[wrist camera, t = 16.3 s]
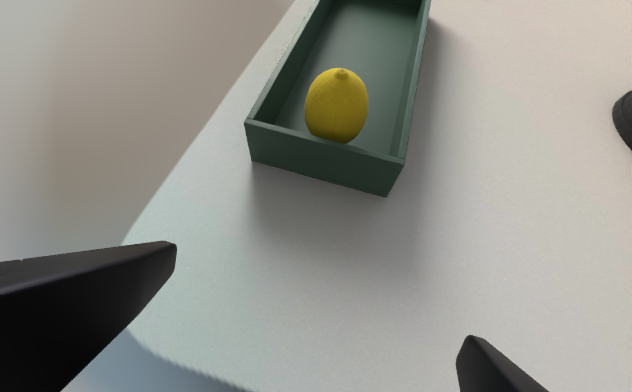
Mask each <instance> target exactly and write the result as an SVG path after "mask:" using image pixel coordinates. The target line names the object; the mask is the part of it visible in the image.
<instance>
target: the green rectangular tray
mask: <svg viewBox="0 0 632 392" xmlns="http://www.w3.org/2000/svg"><path fill="white" fill-rule="evenodd" d="M430 3H431V0H315V1H314V3H313V4H312V6H311V8H310V10H309V11H308V13H307V15H306V16H305V18H304V20H303V22H302V23H301V25H300V27H299V28H298V30H297V32H296V34H295V35H294V37H293V39H292V41H291V42H290V44H289V46H288V47H287V49H286V51H285V53H284V54H283V56H282V58H281V59H280V61H279V63H278V65H277V66H276V68H275V70H274V72H273V73H272V75H271V77H270V78H269V80H268V82H267V84H266V85H265V87H264V89H263V90H262V92H261V94H260V96H259V97H258V99H257V101H256V103H255V104H254V106H253V108H252V109H251V111H250V113H249V115H248V116H247V118H246V120H245V121H244V126H245V131H246V136H247V141H248V146H249V151H250V155H251V160H252V161H256V162H260V163H263V164H267V165H271V166H274V167H278V168H281V169H285V170H289V171H292V172H296V173H299V174H303V175H307V176H310V177H314V178H317V179H321V180H325V181H328V182H332V183H335V184H339V185H343V186H346V187H350V188H354V189H357V190H361V191H364V192H368V193H372V194H375V195H379V196H382V197H387V196H388V194H389V192H390V190H391V188H392V186H393V184H394V183H395V181H396V179H397V177H398V175H399V173H400V172H401V170H402V168H403V166H404V162H405V156H406V150H407V144H408V138H409V132H410V125H411V119H412V113H413V107H414V101H415V95H416V89H417V82H418V76H419V70H420V64H421V58H422V52H423V46H424V40H425V33H426V27H427V21H428V15H429V9H430ZM334 68H343V69H347V70H350V71H352V72H354V73H355V74H356V75H357V76H359V77H360V79H361V80H362V81H363V83H364V85H365V87H366V90H367V93H368V114H367V118H366V121H365V123H364V126H363V128H362V130H361V131H360V133H359V134H358V135H357V136H356V138H355V139H353V140H352V141H350V142H349V143H347V144H343V143H339V142H336V141H332V140H328V139H324V138H320V137H317V136H313V135H312V134H311V133H310V132H309V130H308V127H307V125H306V122H305V100H306V97H307V94H308V91H309V88H310V86H311V84H312V83H313V81H314V80H315V79H316V78H317V77H318V76H319V75H320V74H322V73H323V72H324V71H327V70H330V69H334Z"/></svg>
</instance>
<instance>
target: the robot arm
mask: <svg viewBox="0 0 632 392" xmlns="http://www.w3.org/2000/svg"><path fill="white" fill-rule="evenodd" d="M176 254H177V246H176V245H175V244H173V243H170V242H167V241H157V242H149V243H142V244H134V245H126V246H119V247H112V248H104V249H96V250H89V251H81V252H73V253H66V254H58V255H50V256H43V257H36V258H28V259H23V260H22V261H21V260H12V261H4V262H0V392H60V391H61V390H62V389H63V388H65V387H66V385H68V383H70V382H71V380H73V379H74V378H75V377H76V376H77V375H78V374H79V373H80V372H81V371H82V370H83V369H84V368H85V367H86V366H87V365H88V364H89V363H90V362H91V361H92V360H93V359H94V358H95V357H96V356H97V355H98V354H99V353H100V352H101V351H102V350H103V349H104V348H105V347H106V346H107V345H108V344H109V343H110V342H111V341H112V340H113V339H114V338H115V337H116V336H117V335H118V334H119V333H120V332H121V331H122V330H124V329H125V328H126V327H127V326H128V325H129V324H130V323H131V322H132V321H133V320H134V319H135V318H136V317H137V315H138V314H139V313H140V312H141V311H142V310H143V309H144V308H145V307H146V305H147V304H148V303H149V302H150V301H151V299H152V298H153V297H154V296H155V295H156V293H157V292H158V291H159V290H160V289H161V287H162V286H163V285H164V284H165V283H166V281H167V280H168V279H169V278H170V277H171V275H172V274H173V271H174V268H175V261H176ZM456 369H457V375H458V381H459V387H460V392H549V391H547V390H546V389H545V388H544V387H543V386H541V385H540V384H539V383H538V382H536V381H535V380H534V379H533V378H532V377H530V376H529V375H528V374H527V373H525V372H524V371H523V370H522V369H520V368H519V367H518V366H517V365H516V364H514V363H513V362H512V361H511V360H509V359H508V358H507V357H506V356H504V355H503V354H502V353H501V352H500V351H498V350H497V349H496V348H495V347H493V346H492V345H491V344H490V343H489V342H487V341H486V340H485V339H483V338H480V337H476V336H473V335H469V336H467V337H466V338H465V340H464V343H463V345H462V347H461V349H460V351H459V354H458V356H457V359H456Z"/></svg>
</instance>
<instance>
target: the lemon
mask: <svg viewBox="0 0 632 392" xmlns="http://www.w3.org/2000/svg"><path fill="white" fill-rule="evenodd" d="M367 114H368V93H367V90H366V87H365V85H364V83H363V81H362V80H361V79H360V77H359V76H357V75H356V74H355V73H354V72H352V71H350V70H347V69H343V68H334V69H330V70H327V71H324V72H323V73H322V74H320V75H319V76H318V77H317V78H316V79H315V80H314V81H313V83H312V84H311V86H310V88H309V91H308V94H307V97H306V100H305V122H306V125H307V127H308V130H309V132H310V133H311V134H312V135H313V136H317V137H320V138H324V139H328V140H332V141H336V142H339V143H343V144H347V143H349V142H350V141H352V140H353V139H355V138H356V136H357V135H358V134H359V133H360V131H361V130H362V128H363V126H364V123H365V121H366V118H367Z"/></svg>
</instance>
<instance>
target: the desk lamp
mask: <svg viewBox="0 0 632 392" xmlns="http://www.w3.org/2000/svg"><path fill="white" fill-rule="evenodd" d="M612 114H613V121H614V124H615V126H616V128H617V130H618V132H619V134H620V136H621V137H622V138H623V140H624V141H625V142H626V144H627V145H628V146H629V147H630V148H631V149H632V91H630V92H628V93H626V94H625V95H624V96H623V97H621V98H620V99H619V100H618V101H617V102H616V103H615V105H614V107H613V113H612Z"/></svg>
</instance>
